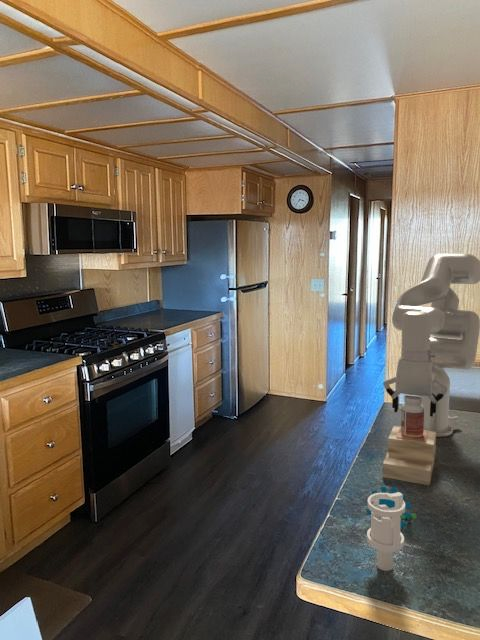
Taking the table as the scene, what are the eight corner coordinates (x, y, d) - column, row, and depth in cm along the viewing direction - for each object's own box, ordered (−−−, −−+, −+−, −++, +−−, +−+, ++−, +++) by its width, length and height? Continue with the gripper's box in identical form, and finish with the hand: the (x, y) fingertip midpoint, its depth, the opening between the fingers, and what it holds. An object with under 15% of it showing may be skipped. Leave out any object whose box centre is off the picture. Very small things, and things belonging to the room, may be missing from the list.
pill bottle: (427, 434, 140) (429, 397, 138) (414, 440, 137) (415, 402, 135) (409, 428, 145) (410, 392, 144) (396, 433, 142) (397, 396, 140)
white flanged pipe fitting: (410, 572, 96) (413, 501, 93) (380, 581, 93) (382, 509, 91) (388, 551, 102) (389, 484, 100) (359, 559, 100) (360, 491, 97)
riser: (393, 450, 149) (393, 425, 148) (435, 457, 144) (436, 431, 143) (382, 476, 133) (383, 448, 132) (429, 485, 128) (430, 456, 127)
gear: (359, 520, 111) (373, 478, 115) (362, 526, 115) (375, 486, 120) (409, 540, 106) (421, 496, 110) (410, 546, 110) (421, 503, 114)
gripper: (449, 354, 137) (447, 412, 140) (385, 349, 144) (385, 404, 147) (447, 361, 130) (445, 421, 133) (381, 356, 138) (380, 413, 141)
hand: (413, 412), depth 140 cm, fingers open, 9 cm apart
